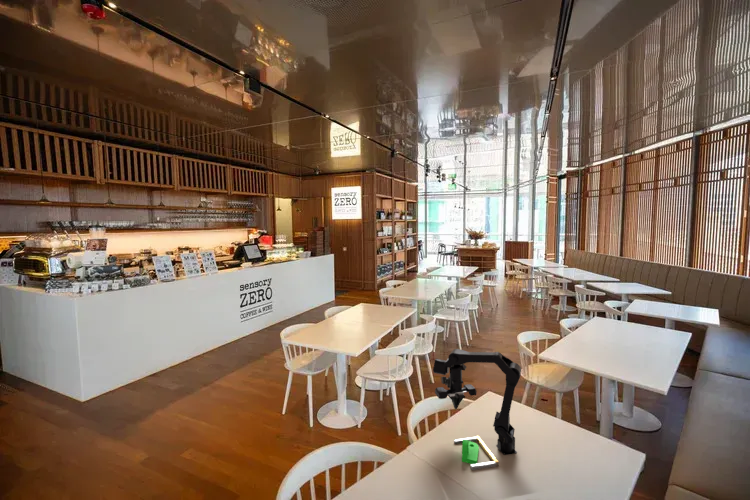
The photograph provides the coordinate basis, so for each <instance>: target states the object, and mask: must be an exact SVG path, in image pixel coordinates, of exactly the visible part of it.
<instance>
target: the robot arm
mask: <svg viewBox="0 0 750 500" xmlns="http://www.w3.org/2000/svg"><path fill="white" fill-rule="evenodd" d="M468 363H484V364H489V363H491V364H495V366H497V367H498V369H500V371H501V372H502V373H503V374H505V390H504V394H503V399H502V403H501V408H500V411H495V416H494V421H493V424H492V427H493V428H494V429H493V430H494V432H495V433H496V434H497V436H498V438H497V444H496V445H495V446H496V447H497V449H498V450H499V452H500V453H502V455H503V456H507V455H514V454H518V452H517V450H516V437H515V427H513V425H512V424H511V421H510V420H511V419H510V418H511V416H510V413H511V408H512V403H513V397H514V392H515V388H516V387H517V385H518V383H519V381H520V378H521V375H522V374H521V373H522V367H521V366H520V364H518V363H516V362H514V361H512V360H511V358H509V357H506V356H505V355H504V354H502V353H501V352H499V351H495V352H493V351H492V352H489V351H480V352H479V351H466V350H465V349H460V348H454V349H453V350H451V352H450V353H449V355H448V358H447V359H446V360H445V359H439V358H435V359H434V364H433V368H432V372H433V374H438V375H442V376H441V378H440V379H441V380H440V381H441V384H442V385H445V386H446V387H447V389H445V387H443V386H442V387H436V388H435V390H434V394H435V396H436V397H437V398H438V399H439V400H444V399H447V398H449V399H450V400H451V402H452V405H453V408H454V410H457V409H458V408H459V406H460V404H461V402H462V400H463V399H465V398H466V395H465V393H468V394H469V396H476V395H477V389H476V387H474V385H472V384H471V383H470V384H464V381H463V371H466V369H467V366H466V365H465V364H468ZM447 374H449V376H448V377H447ZM463 384H464V385H463Z"/></svg>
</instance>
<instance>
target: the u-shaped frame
mask: <svg viewBox="0 0 750 500" xmlns="http://www.w3.org/2000/svg"><path fill="white" fill-rule="evenodd" d="M463 439H466V440H468V441H471V442H474V443H476V442H477V444H479V446H480V447H481V448H482V450H483V451H484V452H485V454H486V455H487V456H488V458H489V459H490V460H491V461H486V462H477V464H470V465H469V466H470V470H471V471H474V470H482V469H488V468H494V467H499V464H500V461H499V460H498V459H497V457H496V456H495V455H494V454H493V452H491V450H490V449H489V447H488V446H487V445H486V444H485V442H484V441H483V440H482V438H481V437H480V436H479V435H476V436H472V437H471V436H470V437H464V438H457V439H454V440H453V442H454V444H455V445H459V444H463Z"/></svg>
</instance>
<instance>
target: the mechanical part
mask: <svg viewBox="0 0 750 500" xmlns="http://www.w3.org/2000/svg"><path fill="white" fill-rule="evenodd" d="M462 439H463V438H462ZM461 444H462V445H461V463H465V464H466V463H467V464H470V465H471V464H477V463H478V460H479V458H478V457H479V453H480V448H479V446H480V445H478V443H476V442H471V441H468V440H466V439H463V443H461Z"/></svg>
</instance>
